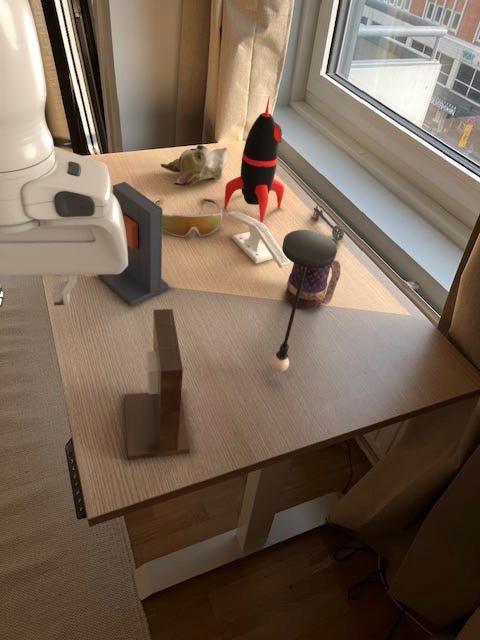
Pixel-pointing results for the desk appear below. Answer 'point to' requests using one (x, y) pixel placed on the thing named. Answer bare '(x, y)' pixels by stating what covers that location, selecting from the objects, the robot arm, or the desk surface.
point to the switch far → (131, 232)
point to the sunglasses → (191, 222)
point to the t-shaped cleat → (258, 241)
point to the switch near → (152, 372)
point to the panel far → (139, 248)
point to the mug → (313, 285)
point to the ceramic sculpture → (198, 165)
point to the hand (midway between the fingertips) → (29, 302)
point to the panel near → (159, 399)
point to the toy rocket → (259, 165)
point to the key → (334, 232)
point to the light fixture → (303, 273)
